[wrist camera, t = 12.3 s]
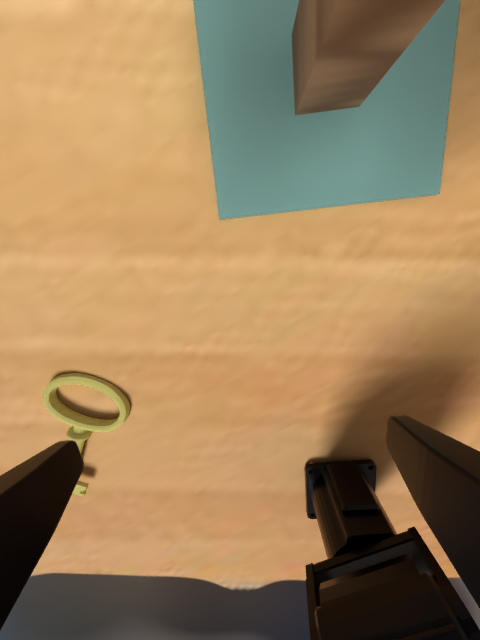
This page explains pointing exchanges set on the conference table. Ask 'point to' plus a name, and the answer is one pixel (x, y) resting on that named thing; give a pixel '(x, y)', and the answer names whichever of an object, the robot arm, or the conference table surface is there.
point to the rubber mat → (317, 116)
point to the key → (82, 423)
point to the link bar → (350, 48)
